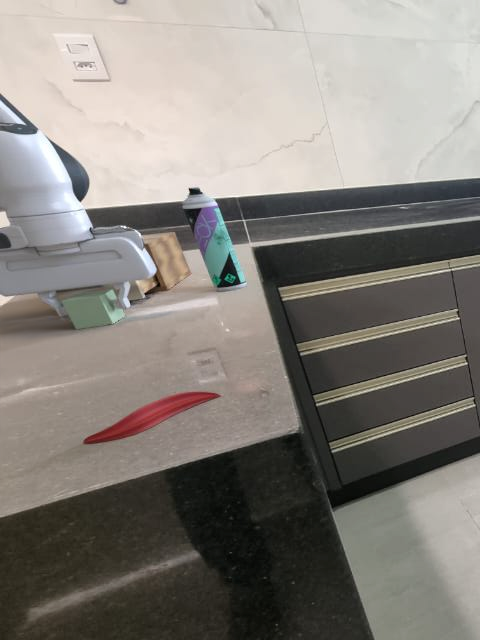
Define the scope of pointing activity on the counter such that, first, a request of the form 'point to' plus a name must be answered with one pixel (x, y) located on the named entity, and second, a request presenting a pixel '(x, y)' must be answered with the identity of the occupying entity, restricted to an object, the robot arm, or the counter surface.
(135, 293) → the drawer
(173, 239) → the cabinet
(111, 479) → the counter surface
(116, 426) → the cayenne pepper
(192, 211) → the spray can
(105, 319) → the block
